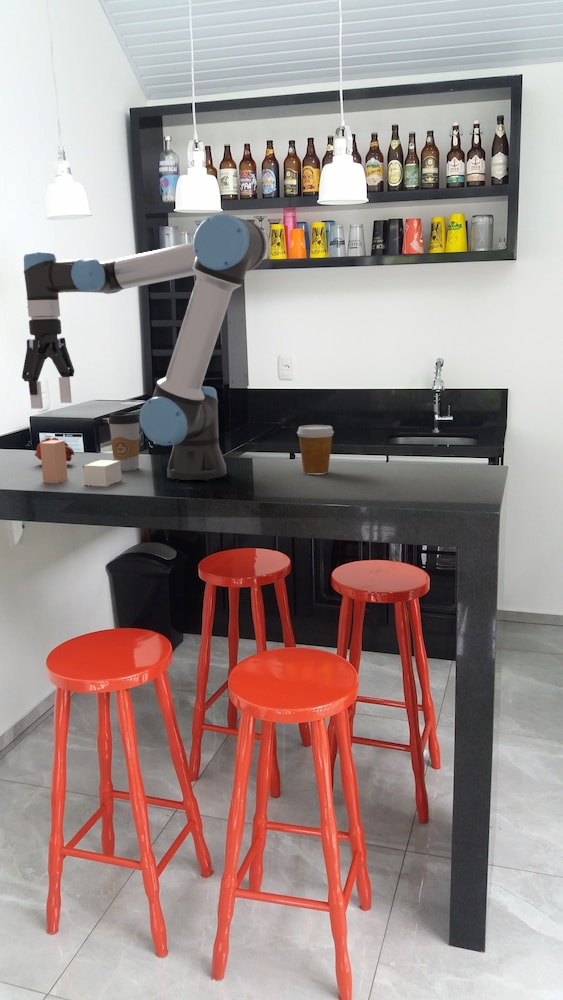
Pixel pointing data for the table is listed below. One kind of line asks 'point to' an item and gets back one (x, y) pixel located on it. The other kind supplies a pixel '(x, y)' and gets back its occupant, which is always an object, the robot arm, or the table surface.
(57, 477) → the salmon orange rectangular block
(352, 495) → the table surface
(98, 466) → the cream white block
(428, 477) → the table surface
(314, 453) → the disposable coffee cup
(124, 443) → the coffee cup
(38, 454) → the dragon fruit
